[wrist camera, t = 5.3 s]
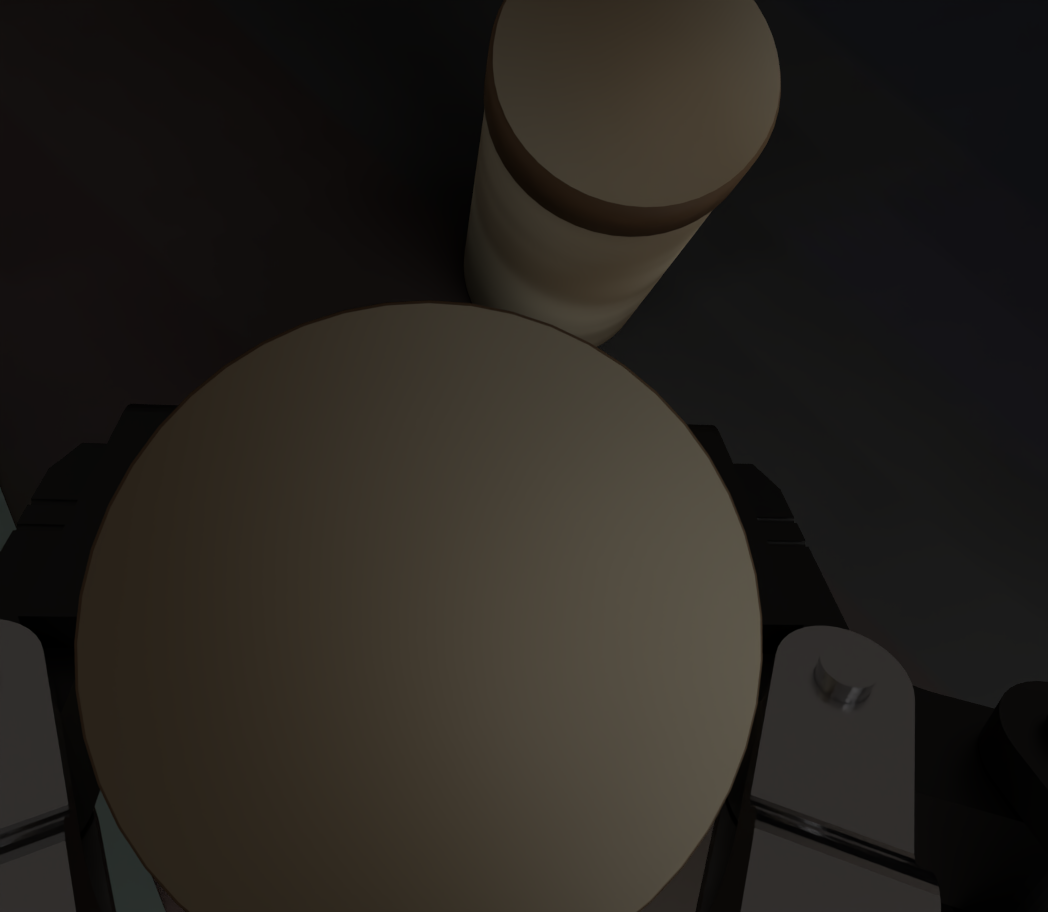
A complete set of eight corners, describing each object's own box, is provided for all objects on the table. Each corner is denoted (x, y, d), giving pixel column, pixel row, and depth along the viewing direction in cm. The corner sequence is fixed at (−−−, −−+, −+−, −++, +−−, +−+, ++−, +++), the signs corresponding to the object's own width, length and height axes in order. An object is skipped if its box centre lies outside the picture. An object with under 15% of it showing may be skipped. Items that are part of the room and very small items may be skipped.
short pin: (597, 156, 18) (706, -106, 11) (673, 317, 18) (833, 146, 11) (431, 218, 18) (440, -20, 11) (507, 387, 17) (566, 251, 10)
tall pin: (473, 474, 17) (599, 202, 5) (553, 654, 17) (882, 799, 5) (288, 553, 16) (-42, 448, 5) (368, 742, 16) (232, 1155, 4)
